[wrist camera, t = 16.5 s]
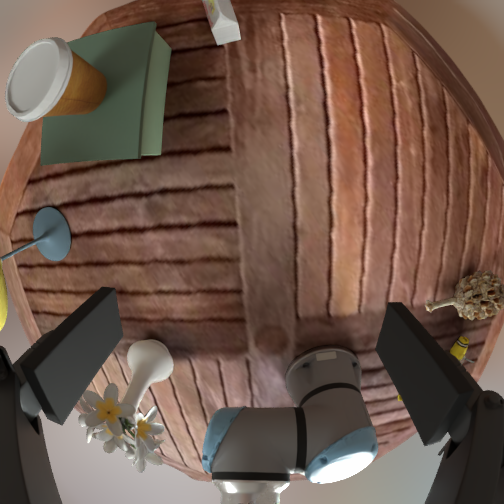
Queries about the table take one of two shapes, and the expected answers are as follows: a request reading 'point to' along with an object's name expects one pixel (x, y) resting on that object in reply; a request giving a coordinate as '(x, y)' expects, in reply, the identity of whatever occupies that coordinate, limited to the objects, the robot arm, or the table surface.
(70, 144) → the green lidded box
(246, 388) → the table surface
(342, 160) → the table surface
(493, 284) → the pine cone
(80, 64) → the disposable coffee cup
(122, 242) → the table surface
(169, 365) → the flower vase
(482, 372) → the table surface
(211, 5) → the white gable carton
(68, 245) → the cocktail glass
